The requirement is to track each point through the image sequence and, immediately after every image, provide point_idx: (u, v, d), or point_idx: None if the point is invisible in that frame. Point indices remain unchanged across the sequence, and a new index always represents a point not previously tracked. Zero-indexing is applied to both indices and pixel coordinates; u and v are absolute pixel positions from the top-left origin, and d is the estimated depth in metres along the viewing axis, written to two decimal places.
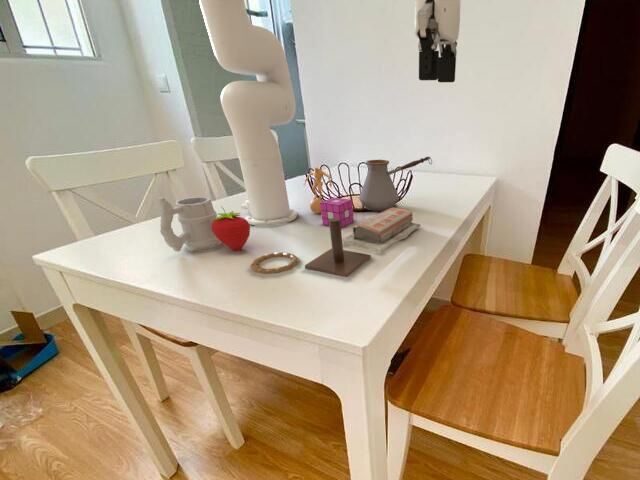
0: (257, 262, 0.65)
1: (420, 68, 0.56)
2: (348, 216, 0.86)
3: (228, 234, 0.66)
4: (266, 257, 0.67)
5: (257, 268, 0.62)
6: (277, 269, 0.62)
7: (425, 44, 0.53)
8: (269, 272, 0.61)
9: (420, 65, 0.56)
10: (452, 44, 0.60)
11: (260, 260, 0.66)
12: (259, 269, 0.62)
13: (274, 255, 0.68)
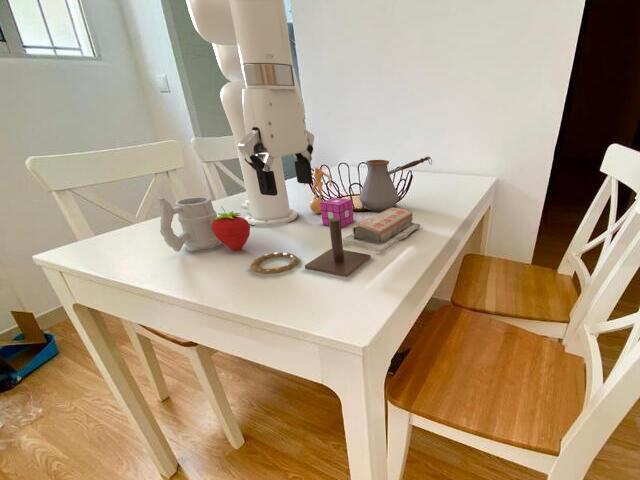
0: (257, 262, 0.65)
1: None
2: (348, 216, 0.86)
3: (228, 234, 0.66)
4: (266, 257, 0.67)
5: (257, 268, 0.62)
6: (277, 269, 0.62)
7: (256, 167, 0.54)
8: (269, 272, 0.61)
9: None
10: (302, 152, 0.62)
11: (260, 260, 0.66)
12: (259, 269, 0.62)
13: (274, 255, 0.68)
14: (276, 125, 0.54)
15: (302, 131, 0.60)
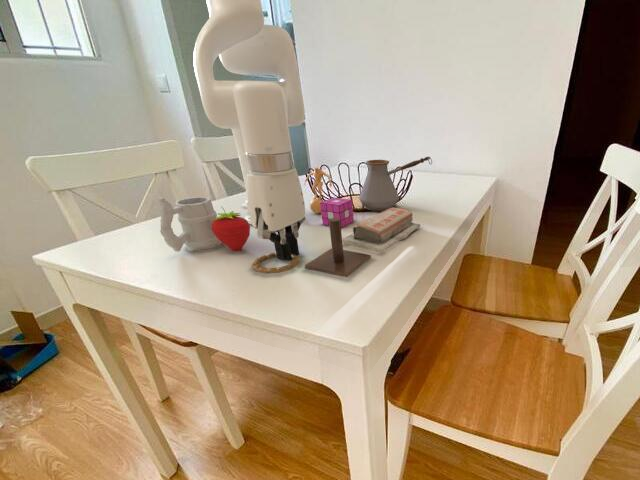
0: (258, 262, 0.65)
1: (277, 252, 0.67)
2: (348, 216, 0.86)
3: (228, 234, 0.66)
4: (267, 257, 0.67)
5: (258, 267, 0.62)
6: (278, 268, 0.62)
7: (274, 241, 0.64)
8: (270, 271, 0.62)
9: None
10: (292, 226, 0.66)
11: (261, 260, 0.66)
12: (259, 268, 0.62)
13: (275, 255, 0.68)
14: (276, 204, 0.60)
15: (300, 203, 0.65)
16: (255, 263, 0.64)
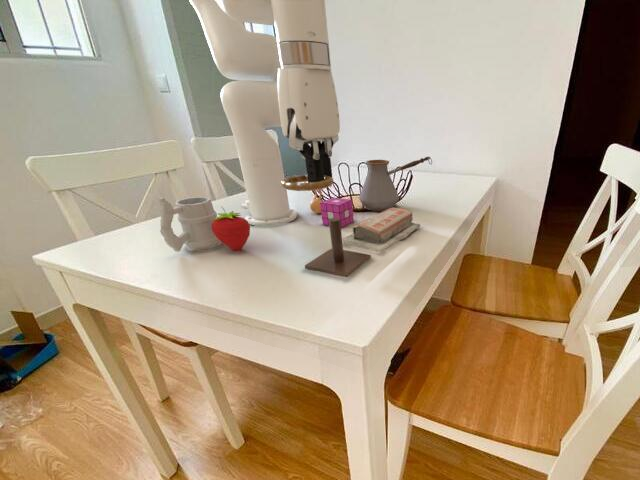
0: (288, 180, 0.58)
1: (308, 172, 0.60)
2: (348, 216, 0.86)
3: (228, 234, 0.66)
4: (296, 178, 0.60)
5: (289, 183, 0.55)
6: (311, 183, 0.55)
7: (306, 155, 0.57)
8: (302, 186, 0.54)
9: (307, 170, 0.59)
10: (326, 141, 0.59)
11: (291, 179, 0.59)
12: (290, 183, 0.55)
13: (305, 176, 0.61)
14: (311, 106, 0.52)
15: (335, 114, 0.58)
16: (285, 180, 0.57)
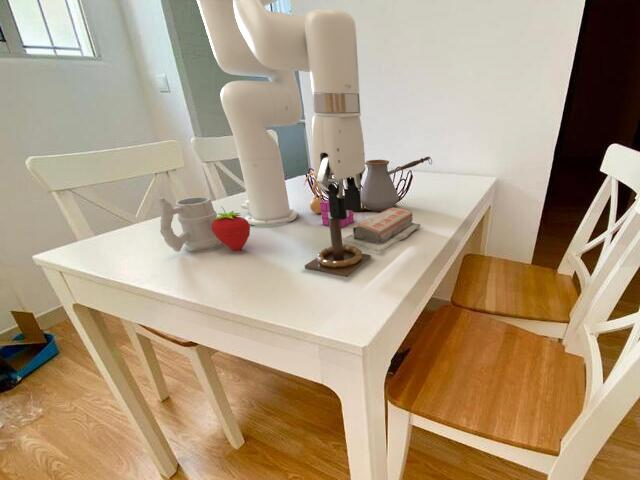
0: (322, 255, 0.65)
1: (330, 208, 0.62)
2: (348, 216, 0.86)
3: (228, 234, 0.66)
4: (328, 250, 0.67)
5: (325, 260, 0.62)
6: (345, 261, 0.62)
7: (331, 194, 0.59)
8: (338, 264, 0.62)
9: (330, 206, 0.62)
10: (355, 178, 0.63)
11: (324, 253, 0.66)
12: (327, 261, 0.62)
13: None
14: (343, 150, 0.56)
15: (362, 153, 0.62)
16: (320, 256, 0.64)
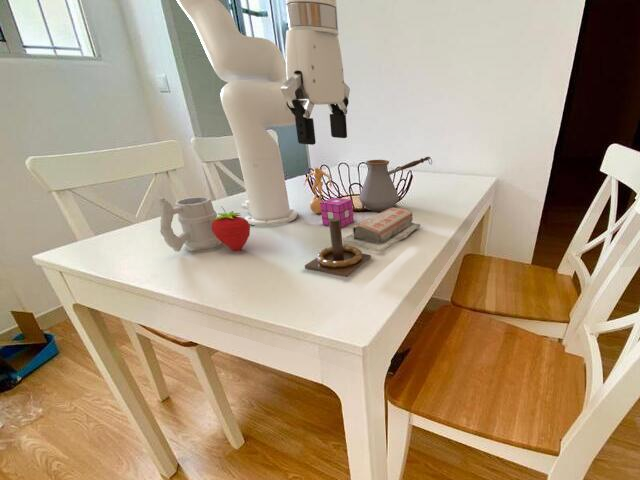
0: (322, 255, 0.65)
1: None
2: (348, 216, 0.86)
3: (228, 234, 0.66)
4: (328, 250, 0.67)
5: (325, 260, 0.62)
6: (345, 261, 0.62)
7: (296, 113, 0.54)
8: (338, 264, 0.62)
9: (297, 130, 0.57)
10: (339, 104, 0.61)
11: (324, 253, 0.66)
12: (327, 261, 0.62)
13: None
14: (318, 70, 0.53)
15: (341, 80, 0.59)
16: (320, 256, 0.64)
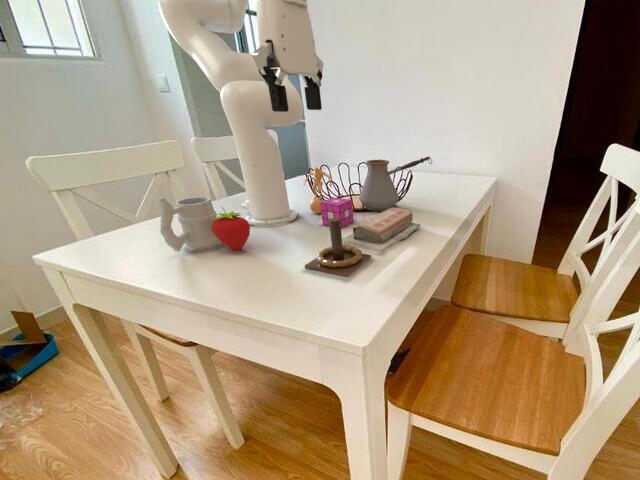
0: (322, 255, 0.65)
1: (272, 100, 0.60)
2: (348, 216, 0.86)
3: (228, 234, 0.66)
4: (328, 250, 0.67)
5: (325, 260, 0.62)
6: (345, 261, 0.62)
7: (268, 80, 0.57)
8: (338, 264, 0.62)
9: None
10: (312, 76, 0.65)
11: (324, 253, 0.66)
12: (327, 261, 0.62)
13: None
14: (288, 39, 0.56)
15: (312, 52, 0.62)
16: (320, 256, 0.64)
